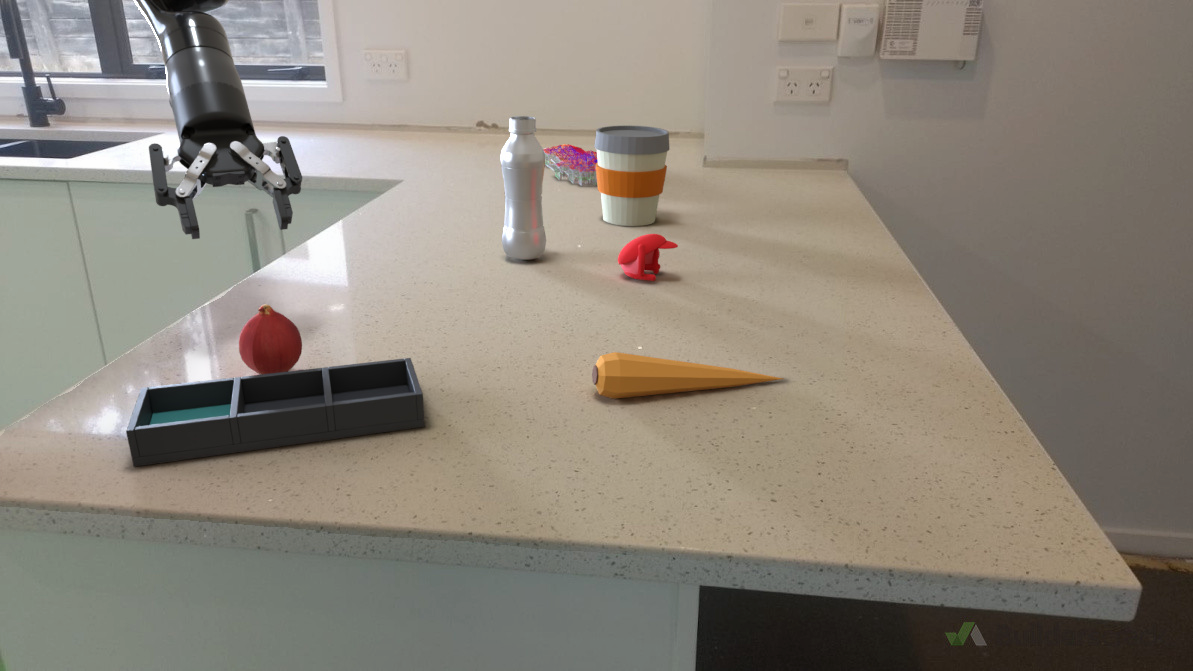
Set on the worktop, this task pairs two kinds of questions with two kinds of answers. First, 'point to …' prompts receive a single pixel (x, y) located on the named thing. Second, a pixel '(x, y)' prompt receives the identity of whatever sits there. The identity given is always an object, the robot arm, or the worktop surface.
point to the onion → (270, 342)
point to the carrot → (663, 376)
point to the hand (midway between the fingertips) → (241, 230)
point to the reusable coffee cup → (631, 172)
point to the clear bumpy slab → (572, 163)
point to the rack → (273, 410)
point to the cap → (643, 256)
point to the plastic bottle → (523, 191)
